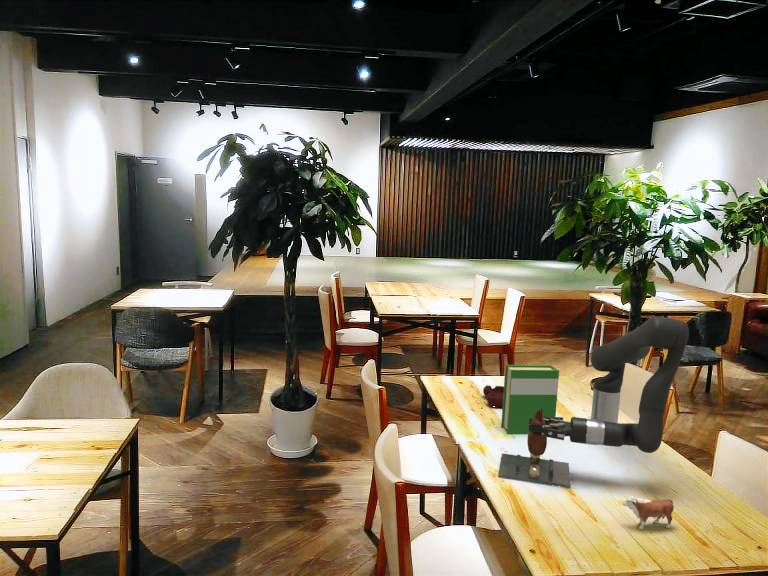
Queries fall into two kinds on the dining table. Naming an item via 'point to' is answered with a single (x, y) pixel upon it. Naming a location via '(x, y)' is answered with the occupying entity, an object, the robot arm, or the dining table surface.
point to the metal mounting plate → (535, 470)
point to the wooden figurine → (537, 436)
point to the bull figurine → (650, 509)
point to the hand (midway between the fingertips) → (529, 424)
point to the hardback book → (528, 395)
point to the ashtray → (494, 395)
